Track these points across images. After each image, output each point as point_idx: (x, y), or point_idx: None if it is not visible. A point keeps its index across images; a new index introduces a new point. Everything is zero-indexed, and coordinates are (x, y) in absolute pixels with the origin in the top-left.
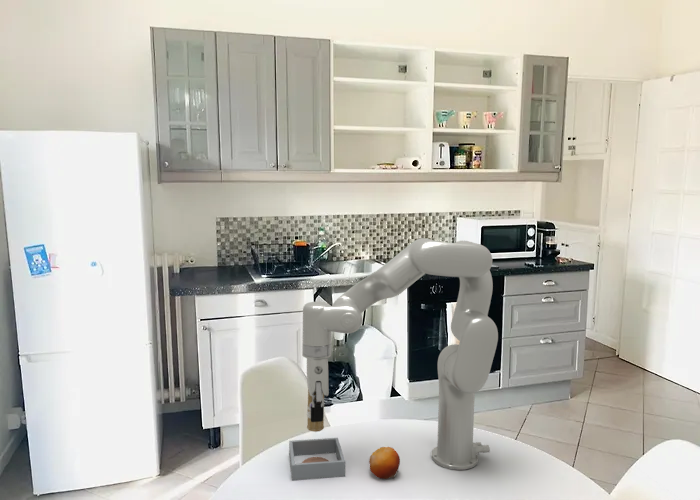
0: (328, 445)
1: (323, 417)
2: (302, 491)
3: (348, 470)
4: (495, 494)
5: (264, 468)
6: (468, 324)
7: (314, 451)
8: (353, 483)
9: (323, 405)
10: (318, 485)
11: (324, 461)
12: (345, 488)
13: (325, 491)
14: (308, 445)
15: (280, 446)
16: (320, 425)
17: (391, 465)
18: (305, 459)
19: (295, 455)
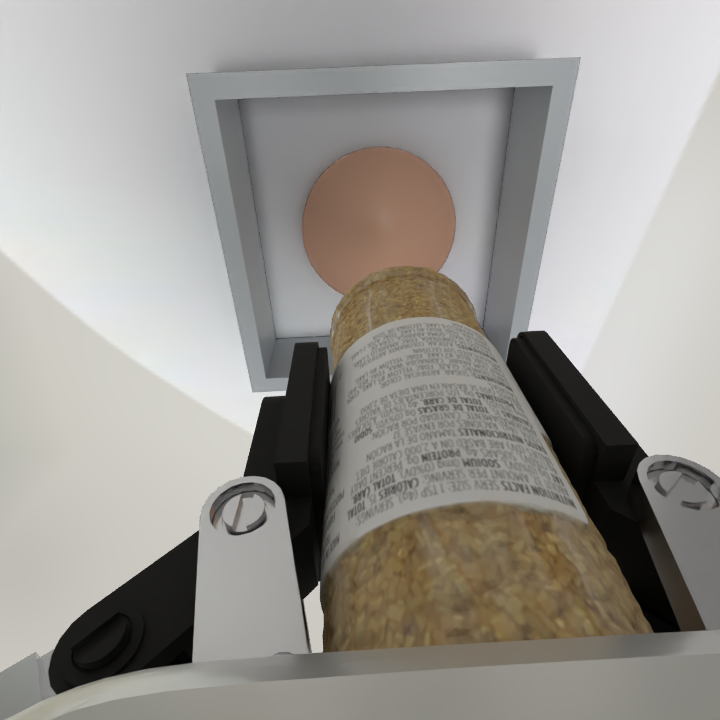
0: (234, 152)
1: (448, 318)
2: (591, 300)
3: (470, 24)
4: None
5: None
6: None
7: (255, 236)
8: (628, 11)
9: (514, 418)
10: (571, 228)
11: (360, 182)
12: (657, 77)
13: (635, 197)
14: (255, 284)
15: (184, 385)
16: (475, 318)
17: None
18: (328, 283)
19: (273, 325)
